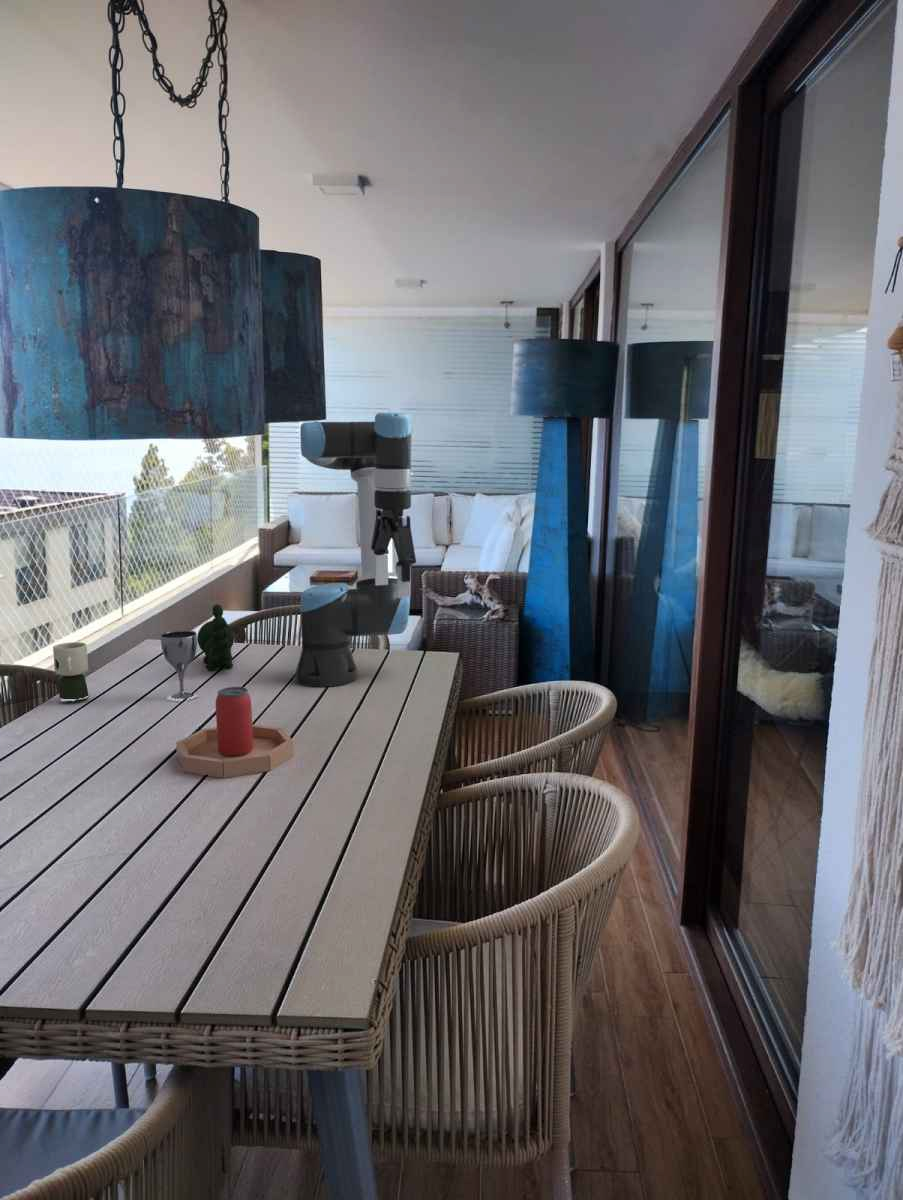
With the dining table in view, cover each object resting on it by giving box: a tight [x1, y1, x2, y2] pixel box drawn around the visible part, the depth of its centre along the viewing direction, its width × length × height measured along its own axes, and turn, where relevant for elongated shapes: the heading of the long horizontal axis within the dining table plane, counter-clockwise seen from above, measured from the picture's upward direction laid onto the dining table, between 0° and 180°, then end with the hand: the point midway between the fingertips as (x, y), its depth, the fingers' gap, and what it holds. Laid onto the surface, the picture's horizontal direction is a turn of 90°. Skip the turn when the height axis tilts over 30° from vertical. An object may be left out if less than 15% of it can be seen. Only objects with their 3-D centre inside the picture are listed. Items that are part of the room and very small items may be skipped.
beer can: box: [215, 686, 253, 756], centre depth 180 cm, size 7×7×12 cm
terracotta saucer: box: [175, 723, 294, 779], centre depth 181 cm, size 20×20×3 cm
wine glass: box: [160, 629, 198, 699], centre depth 219 cm, size 8×8×15 cm
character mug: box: [52, 641, 89, 699], centre depth 216 cm, size 11×7×13 cm, turn 15°
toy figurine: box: [197, 603, 235, 672], centre depth 246 cm, size 9×19×25 cm
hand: (392, 590), depth 200 cm, fingers open, 13 cm apart
